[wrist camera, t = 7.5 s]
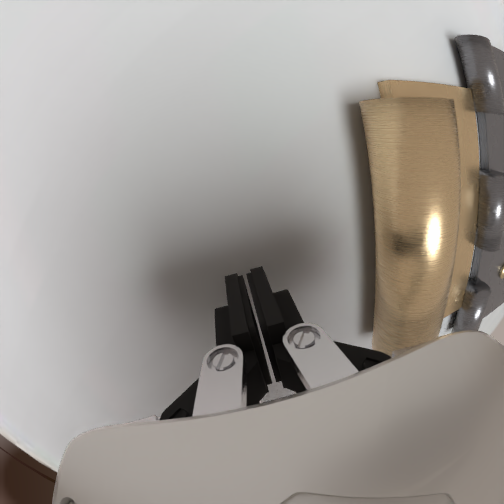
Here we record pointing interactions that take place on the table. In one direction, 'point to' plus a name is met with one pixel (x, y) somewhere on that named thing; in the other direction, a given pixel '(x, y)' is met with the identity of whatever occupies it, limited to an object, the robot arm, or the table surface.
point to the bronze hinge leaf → (421, 206)
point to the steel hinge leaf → (485, 180)
